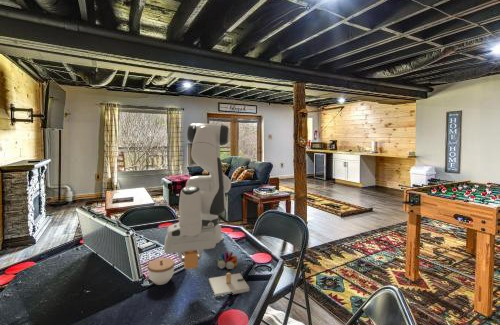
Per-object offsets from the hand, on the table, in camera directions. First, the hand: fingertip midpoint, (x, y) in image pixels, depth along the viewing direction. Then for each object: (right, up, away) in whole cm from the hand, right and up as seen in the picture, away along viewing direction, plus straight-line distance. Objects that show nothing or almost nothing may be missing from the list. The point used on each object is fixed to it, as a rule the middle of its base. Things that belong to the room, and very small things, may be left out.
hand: (190, 260), depth 108 cm
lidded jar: (-14, -11, +6) cm, 19 cm away
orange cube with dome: (0, -2, 0) cm, 2 cm away
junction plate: (+15, -12, +3) cm, 19 cm away
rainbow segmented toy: (+13, -11, +20) cm, 26 cm away
